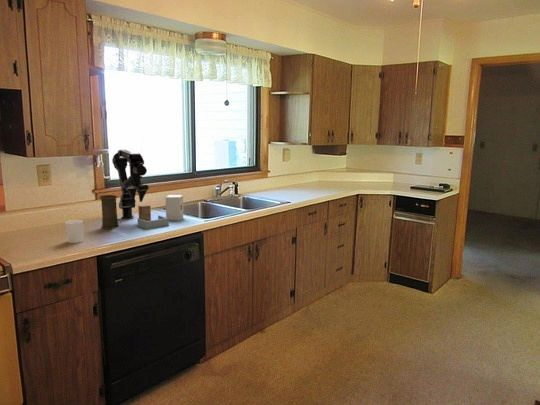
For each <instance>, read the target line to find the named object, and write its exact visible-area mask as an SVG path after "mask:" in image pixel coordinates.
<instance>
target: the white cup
mask: <svg viewBox="0 0 540 405" xmlns="http://www.w3.org/2000/svg"><path fill="white" fill-rule="evenodd" d="M65 229H66V230H65V231H66V236H67V242H68V243H69V244H77V243H81V242H82V243H83V241H84V220H83V219H72V220H68V221H67V220H66V221H65Z"/></svg>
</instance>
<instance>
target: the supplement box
mask: <svg viewBox="0 0 540 405" xmlns="http://www.w3.org/2000/svg"><path fill="white" fill-rule="evenodd" d="M165 217H166V218H168V221H182V220H183V219H184V195H183V194H168V195H167V196H165Z"/></svg>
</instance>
